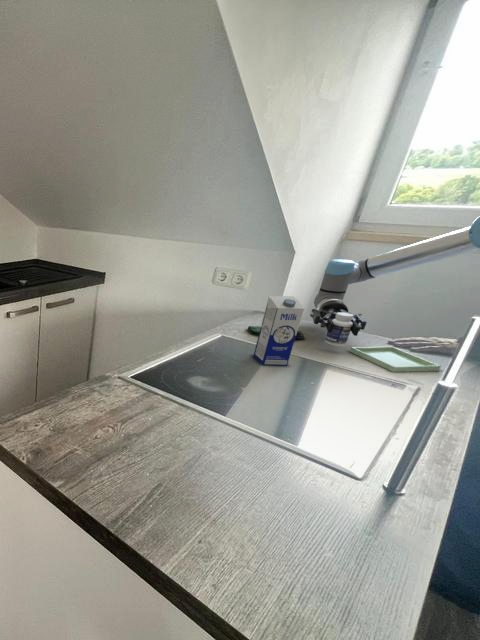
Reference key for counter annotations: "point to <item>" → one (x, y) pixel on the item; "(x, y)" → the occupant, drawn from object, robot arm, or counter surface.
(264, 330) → the milk carton
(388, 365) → the tray
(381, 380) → the counter surface
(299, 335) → the gun
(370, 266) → the robot arm
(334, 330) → the pill bottle
